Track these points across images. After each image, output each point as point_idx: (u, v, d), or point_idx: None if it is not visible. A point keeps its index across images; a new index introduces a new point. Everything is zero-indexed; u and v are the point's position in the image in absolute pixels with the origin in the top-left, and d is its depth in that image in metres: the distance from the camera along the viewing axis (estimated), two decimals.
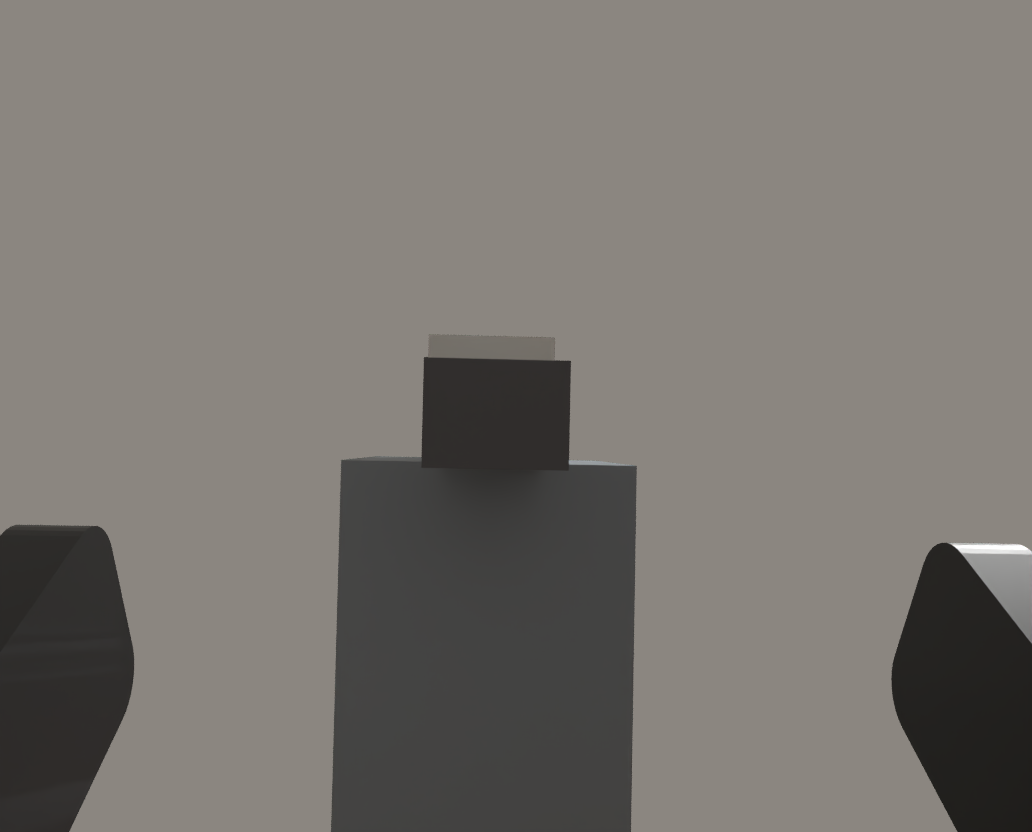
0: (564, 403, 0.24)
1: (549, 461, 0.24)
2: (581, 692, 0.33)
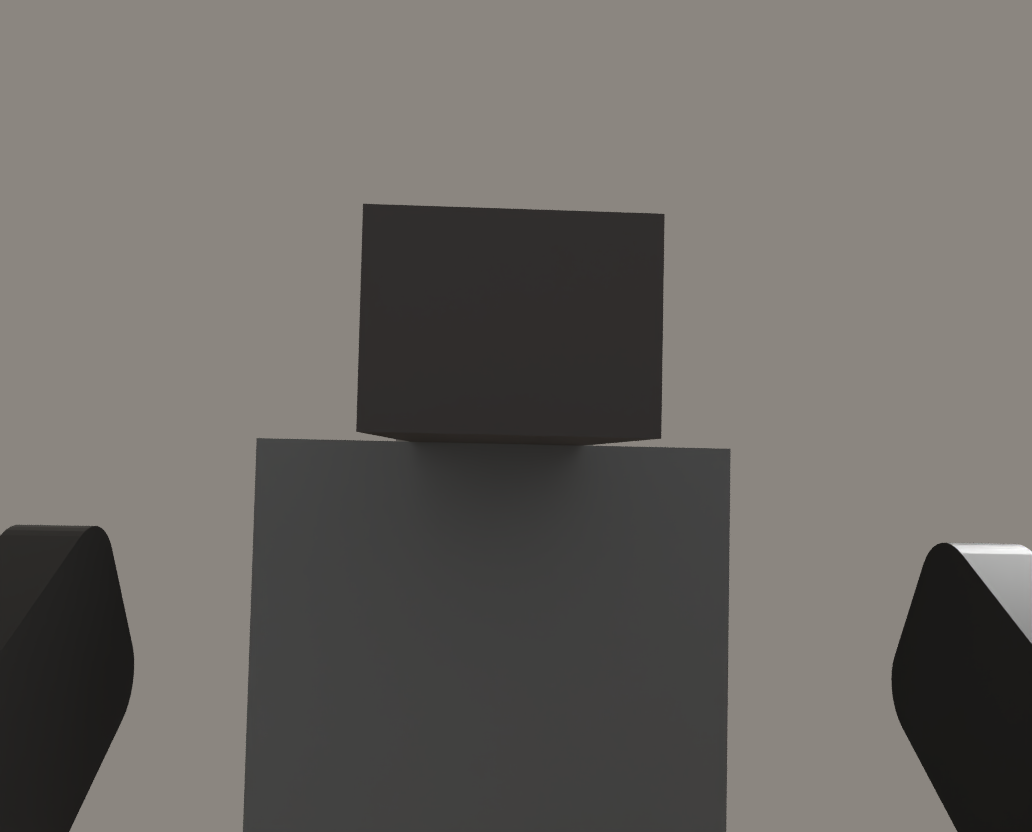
0: (652, 301, 0.12)
1: (621, 418, 0.12)
2: (642, 815, 0.20)
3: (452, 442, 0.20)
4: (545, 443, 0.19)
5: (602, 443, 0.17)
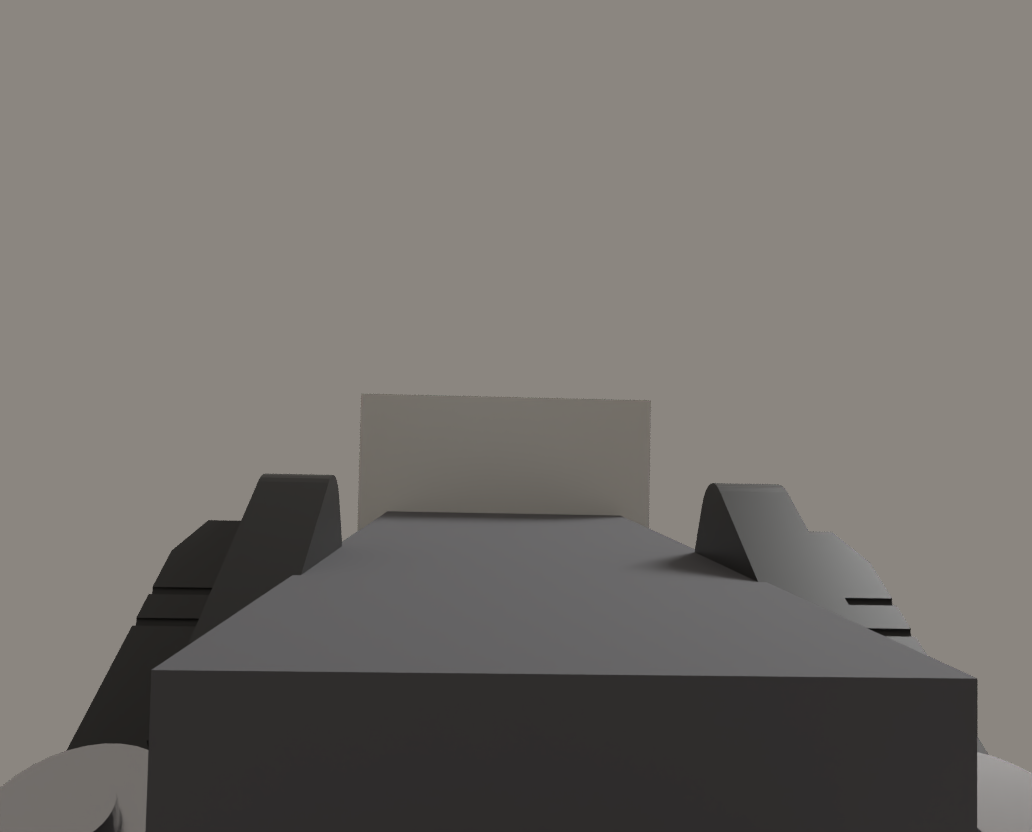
0: None
1: None
2: None
3: None
4: None
5: None
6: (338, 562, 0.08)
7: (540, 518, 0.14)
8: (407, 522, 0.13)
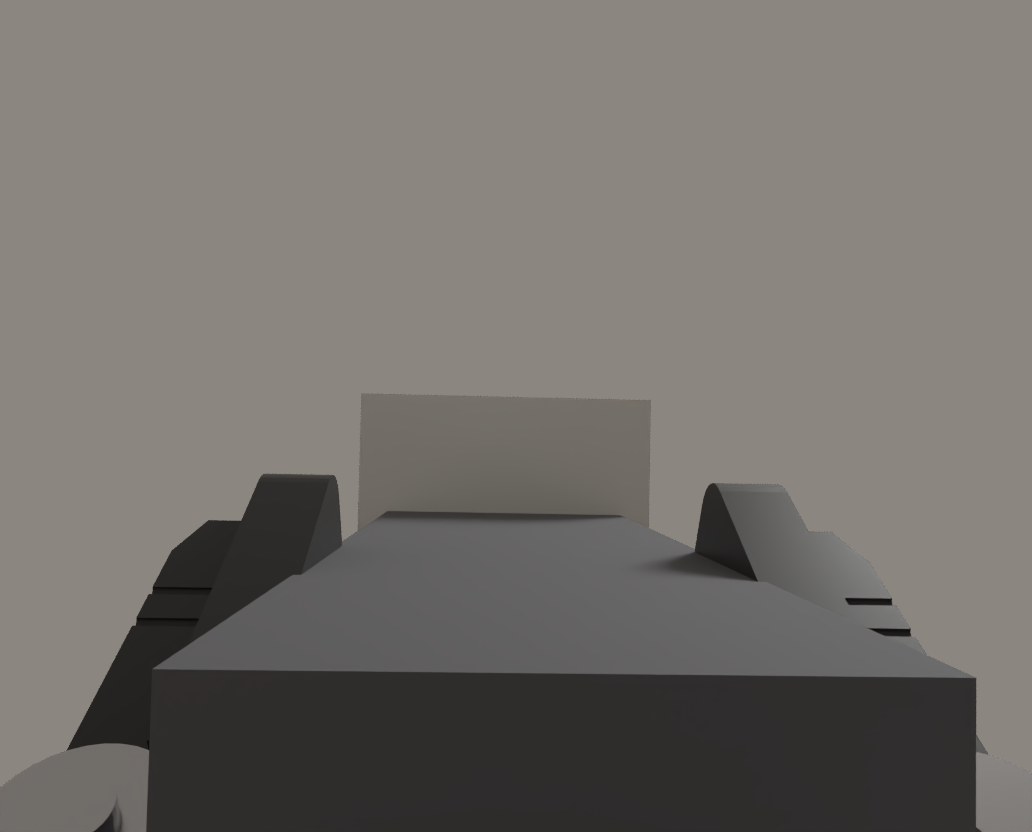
0: None
1: None
2: None
3: None
4: None
5: None
6: (338, 561, 0.08)
7: (540, 518, 0.14)
8: (407, 522, 0.13)
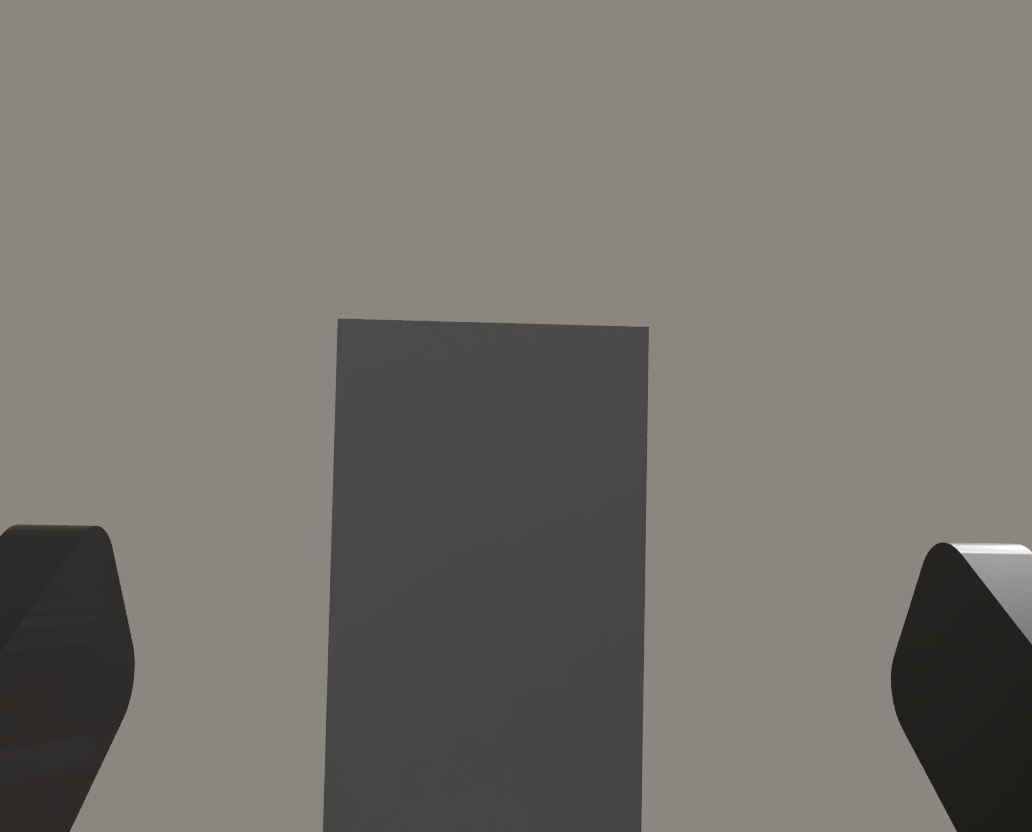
0: None
1: None
2: (590, 564, 0.31)
3: None
4: None
5: None
6: None
7: None
8: None
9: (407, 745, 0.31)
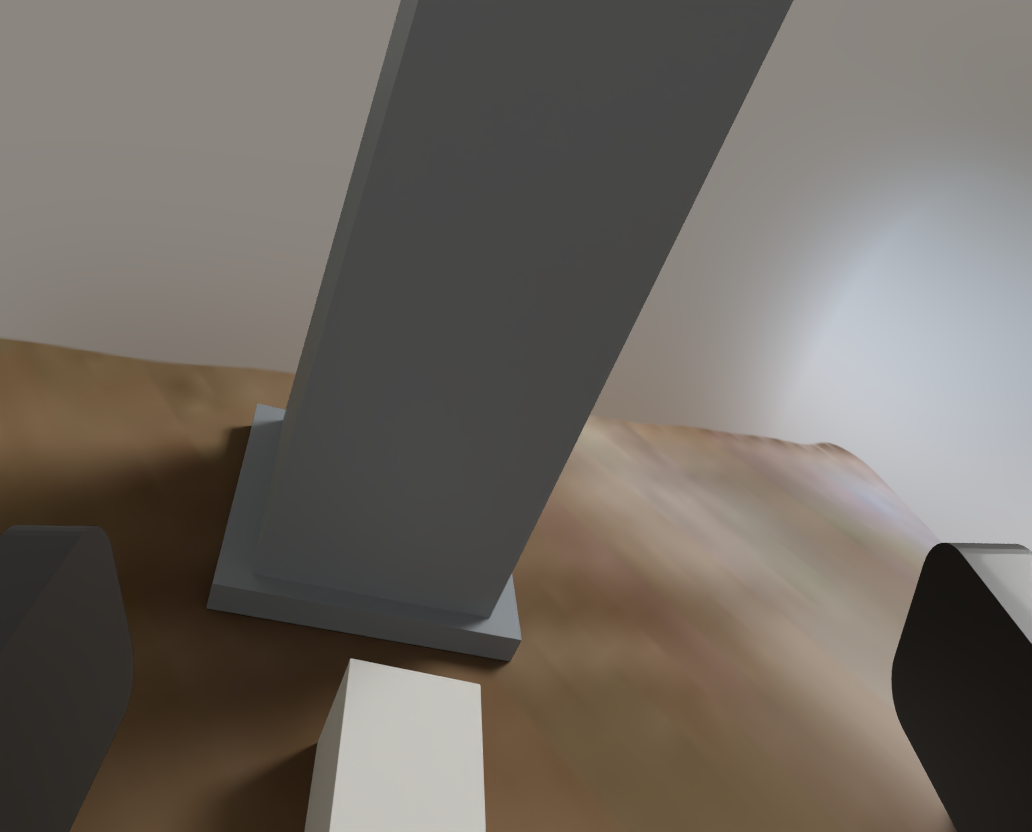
0: None
1: None
2: (653, 165, 0.30)
3: None
4: None
5: None
6: None
7: None
8: None
9: (423, 275, 0.32)
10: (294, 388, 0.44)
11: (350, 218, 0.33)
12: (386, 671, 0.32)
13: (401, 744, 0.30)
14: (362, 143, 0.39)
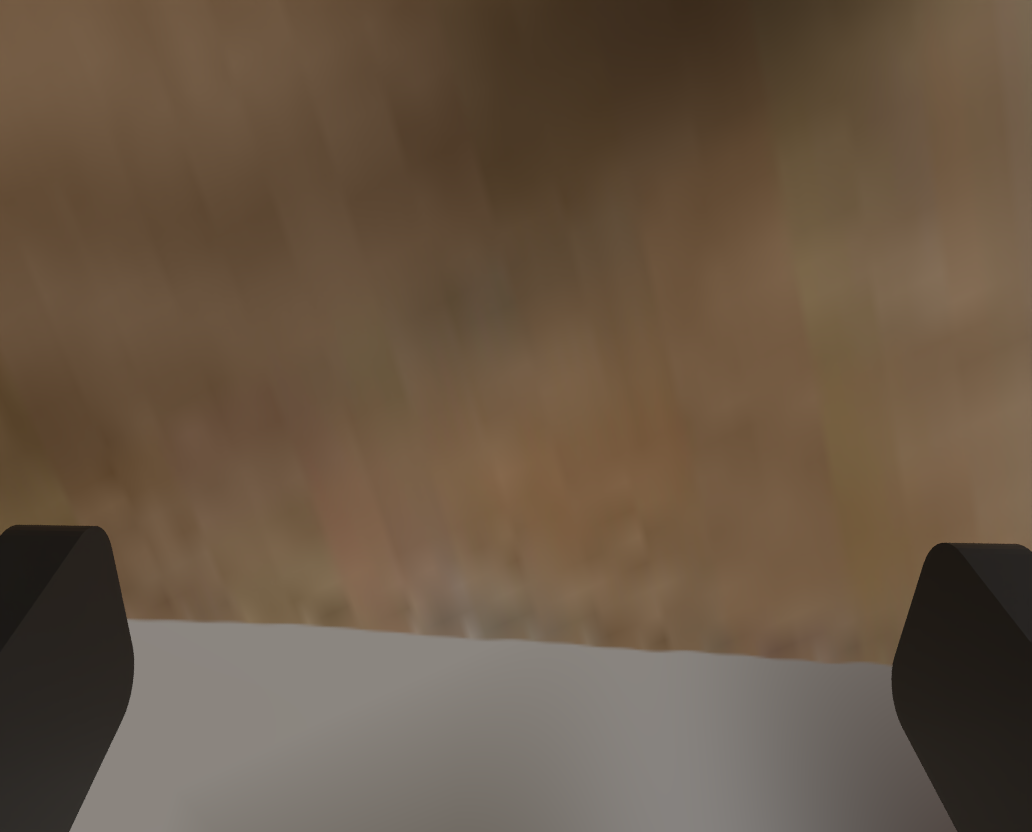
0: None
1: None
2: None
3: None
4: None
5: None
6: None
7: None
8: None
9: None
10: None
11: None
12: None
13: None
14: None
